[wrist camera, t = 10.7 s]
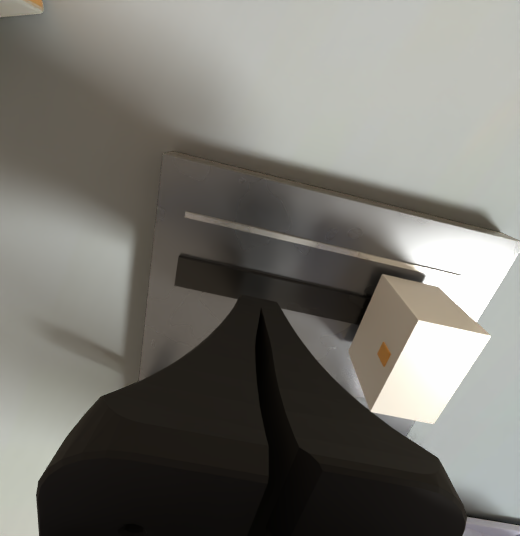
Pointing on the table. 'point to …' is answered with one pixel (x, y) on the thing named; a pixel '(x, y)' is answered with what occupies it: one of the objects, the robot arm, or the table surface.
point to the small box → (20, 7)
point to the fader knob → (413, 349)
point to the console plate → (297, 261)
